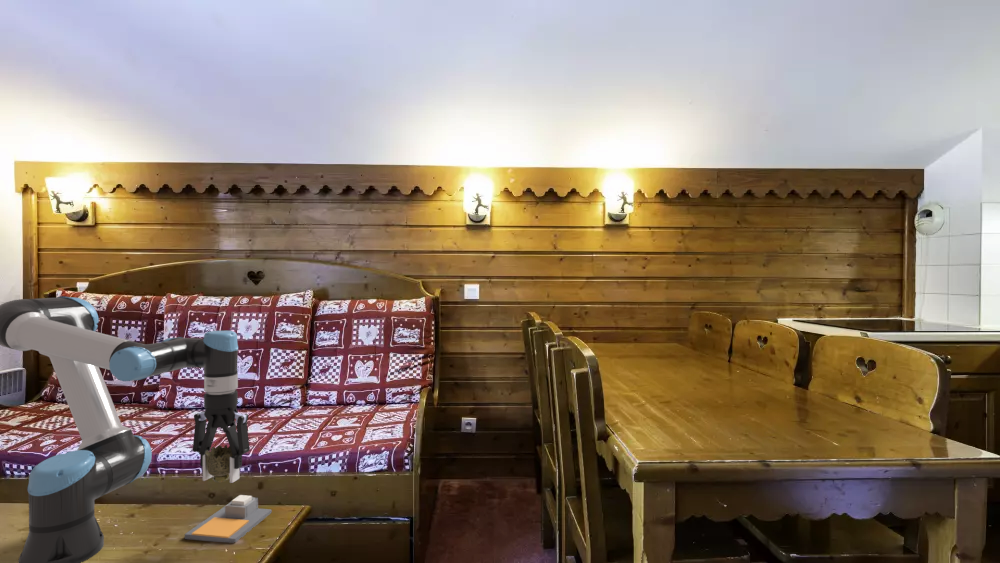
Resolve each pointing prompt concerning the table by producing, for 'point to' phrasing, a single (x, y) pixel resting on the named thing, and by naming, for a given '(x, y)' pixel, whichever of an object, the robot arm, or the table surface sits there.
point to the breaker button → (241, 500)
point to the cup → (219, 462)
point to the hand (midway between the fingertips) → (221, 479)
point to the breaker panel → (229, 523)
